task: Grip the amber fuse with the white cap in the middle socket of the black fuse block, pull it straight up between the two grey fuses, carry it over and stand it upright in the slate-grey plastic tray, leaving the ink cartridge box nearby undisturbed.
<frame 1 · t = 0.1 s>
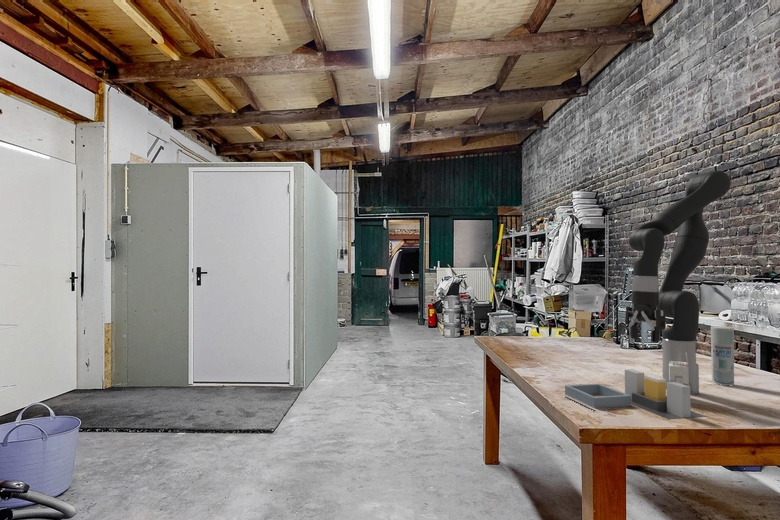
hand: (644, 340, 142), 17 cm above the workbench, tool pointing down, fingers open, 8 cm apart
fuse block: (655, 408, 126), on the workbench
fuse: (655, 405, 126), point 1 cm above the workbench, touching fuse block
spray can: (723, 384, 155), on the workbench
ink cartridge box: (679, 403, 132), on the workbench
tray: (596, 403, 131), on the workbench
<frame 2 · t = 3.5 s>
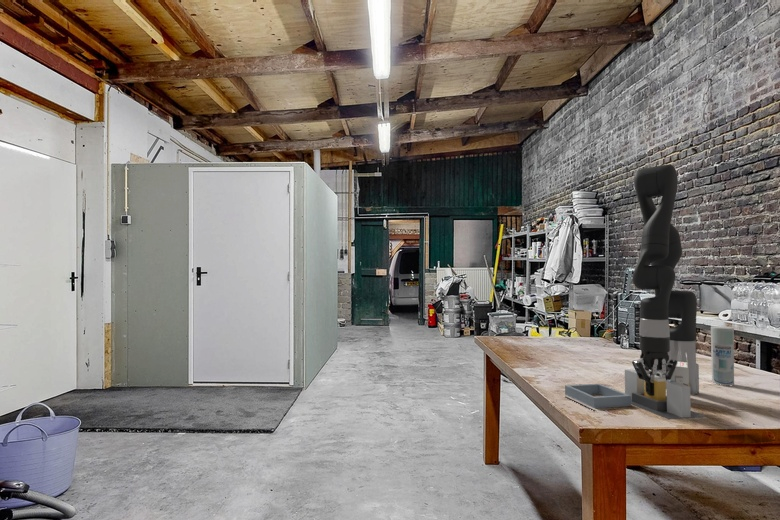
hand: (655, 394, 126), 4 cm above the workbench, tool pointing down, fingers closed on fuse, 2 cm apart
fuse: (655, 404, 126), point 1 cm above the workbench, touching gripper
everything else where it was.
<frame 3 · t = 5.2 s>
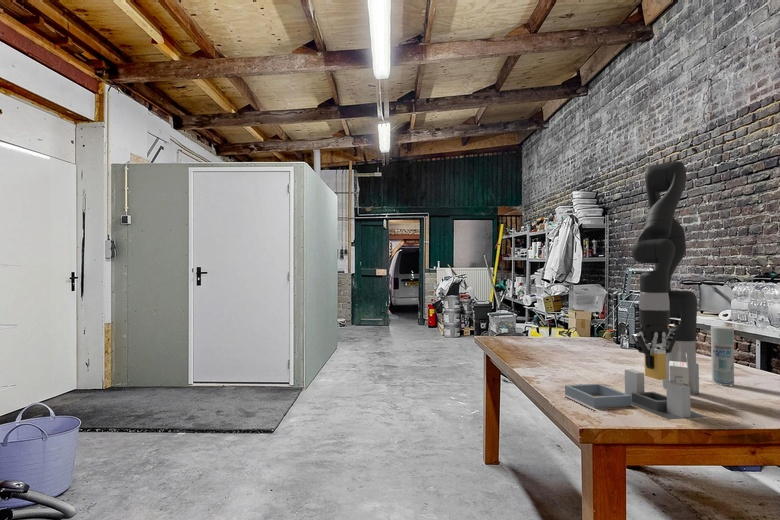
hand: (655, 367, 127), 12 cm above the workbench, tool pointing down, fingers closed on fuse, 2 cm apart
fuse: (655, 377, 126), point 9 cm above the workbench, touching gripper
everything else where it was.
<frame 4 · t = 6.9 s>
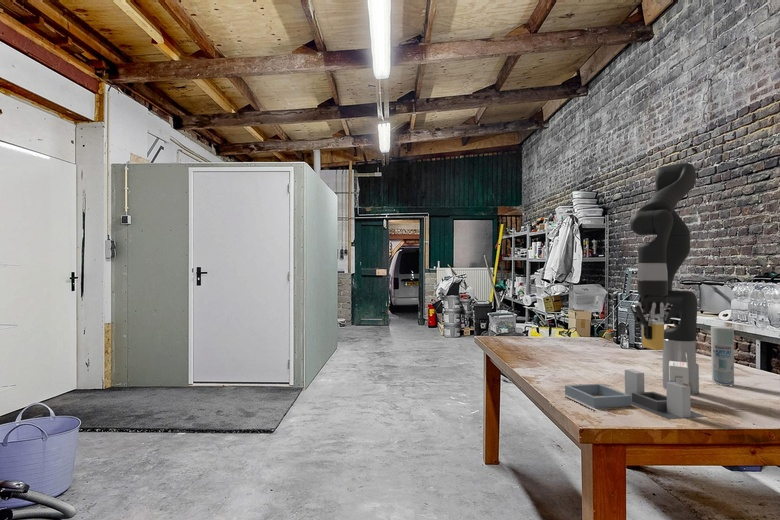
hand: (653, 338, 127), 20 cm above the workbench, tool pointing down, fingers closed on fuse, 2 cm apart
fuse: (652, 348, 127), point 17 cm above the workbench, touching gripper
everything else where it was.
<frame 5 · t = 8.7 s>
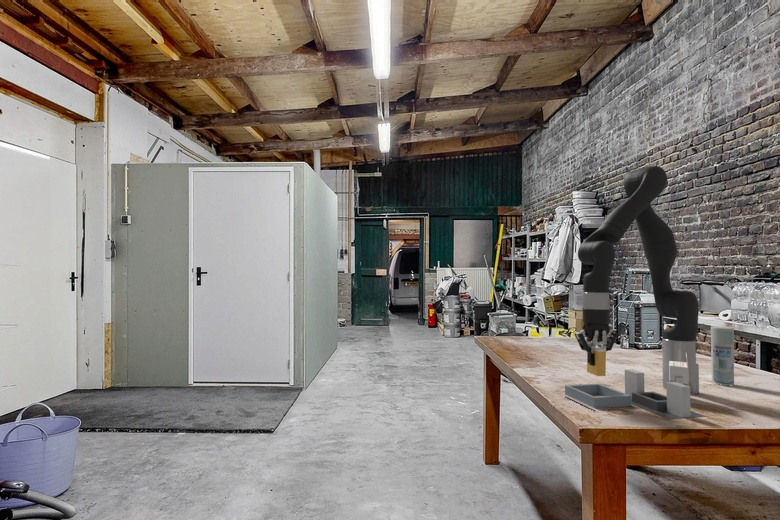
hand: (596, 364, 132), 11 cm above the workbench, tool pointing down, fingers closed on fuse, 2 cm apart
fuse: (596, 373, 132), point 9 cm above the workbench, touching gripper
everything else where it was.
when the fingers open (5 cm above the workbench, at t = 10.5 s): fuse drops 1 cm, resting on tray.
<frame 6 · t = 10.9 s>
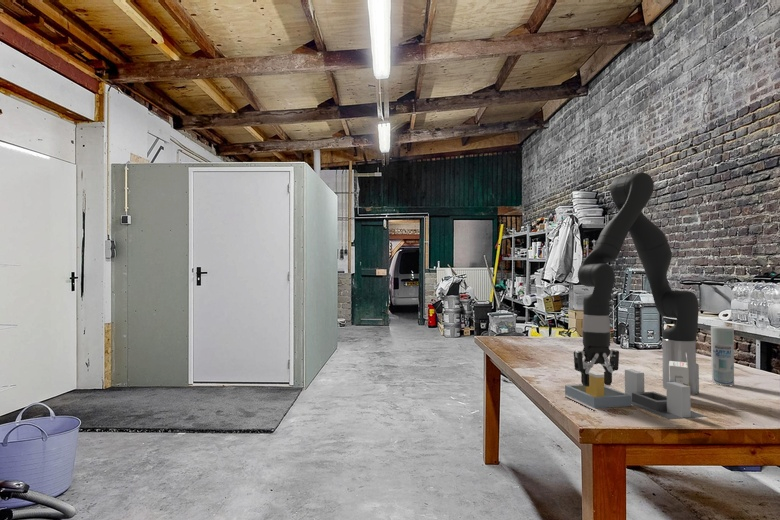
hand: (596, 385, 132), 5 cm above the workbench, tool pointing down, fingers open, 6 cm apart
fuse: (594, 399, 132), point 1 cm above the workbench, touching tray
everything else where it was.
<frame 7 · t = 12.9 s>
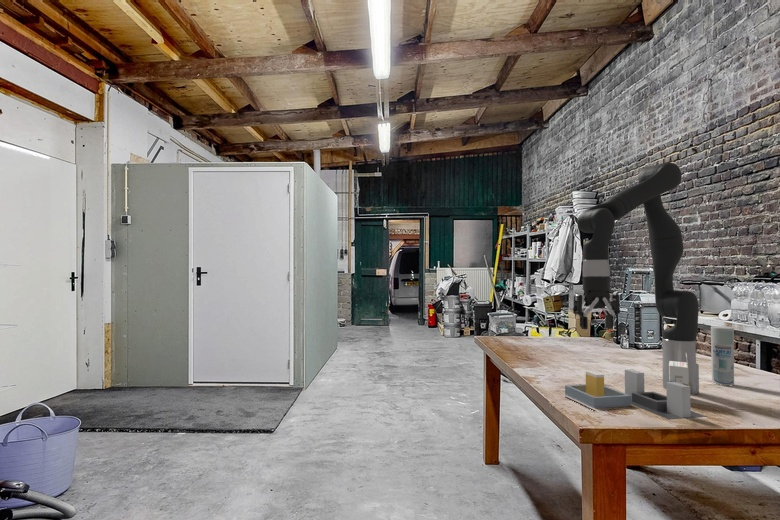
hand: (596, 328, 133), 22 cm above the workbench, tool pointing down, fingers open, 8 cm apart
nothing on the workbench moved.
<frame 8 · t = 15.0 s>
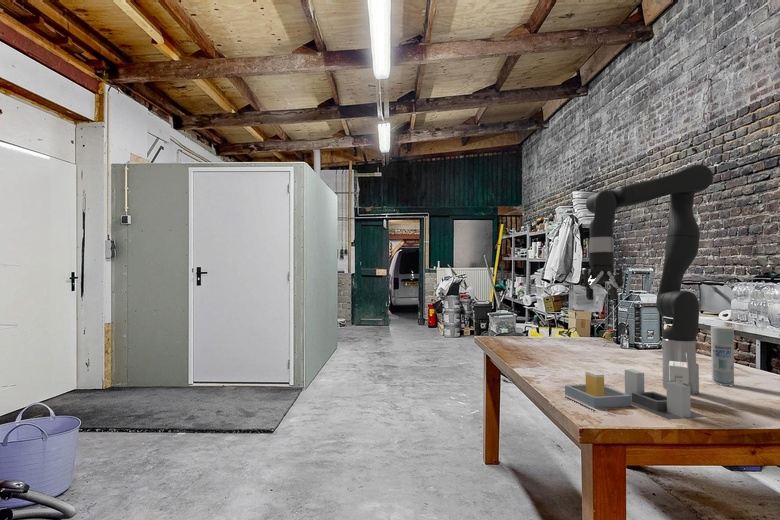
hand: (601, 299, 146), 30 cm above the workbench, tool pointing down, fingers open, 8 cm apart
nothing on the workbench moved.
at the end: fuse inside the target area on the tray (0.9 cm from its centre), point 0.8 cm above the tray's base; fuse tilted 0°; ink cartridge box moved 0.2 cm from its start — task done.
